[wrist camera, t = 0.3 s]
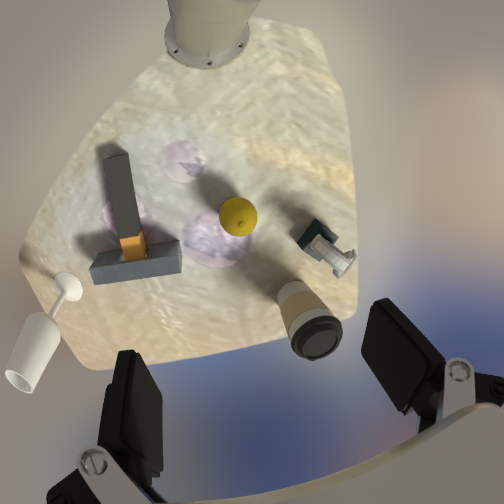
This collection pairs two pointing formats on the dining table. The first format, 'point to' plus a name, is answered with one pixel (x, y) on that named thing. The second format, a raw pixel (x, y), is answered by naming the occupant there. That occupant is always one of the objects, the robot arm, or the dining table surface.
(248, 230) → the lemon
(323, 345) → the coffee cup
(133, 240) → the plug
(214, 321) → the dining table surface
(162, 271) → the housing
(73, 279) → the champagne flute
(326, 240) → the watch
